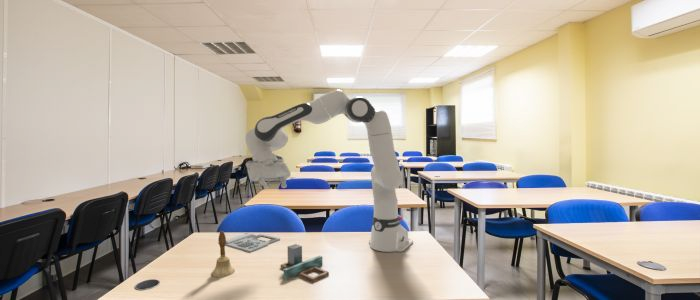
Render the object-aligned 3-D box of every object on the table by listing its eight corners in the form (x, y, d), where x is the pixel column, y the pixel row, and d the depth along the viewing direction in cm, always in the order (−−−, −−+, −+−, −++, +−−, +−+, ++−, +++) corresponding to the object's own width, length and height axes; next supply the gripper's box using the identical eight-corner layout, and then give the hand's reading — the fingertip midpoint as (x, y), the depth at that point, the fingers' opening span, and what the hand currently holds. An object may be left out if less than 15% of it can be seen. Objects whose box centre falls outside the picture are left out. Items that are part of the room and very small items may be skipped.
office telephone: (217, 239, 156) (250, 229, 173) (217, 244, 157) (250, 234, 173) (250, 247, 144) (282, 235, 161) (250, 253, 144) (282, 241, 161)
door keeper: (305, 258, 137) (305, 250, 137) (338, 270, 125) (338, 262, 124) (269, 271, 124) (269, 262, 124) (301, 287, 111) (301, 277, 111)
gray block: (295, 264, 131) (295, 244, 130) (302, 267, 128) (301, 246, 128) (287, 267, 128) (287, 246, 127) (294, 270, 125) (293, 248, 125)
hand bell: (226, 278, 119) (226, 235, 118) (206, 276, 120) (205, 233, 120) (239, 268, 127) (238, 228, 126) (220, 267, 128) (219, 227, 128)
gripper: (248, 156, 133) (260, 185, 128) (285, 157, 149) (297, 182, 144) (240, 165, 136) (251, 193, 131) (278, 165, 152) (289, 190, 147)
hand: (276, 187), depth 137 cm, fingers open, 8 cm apart
